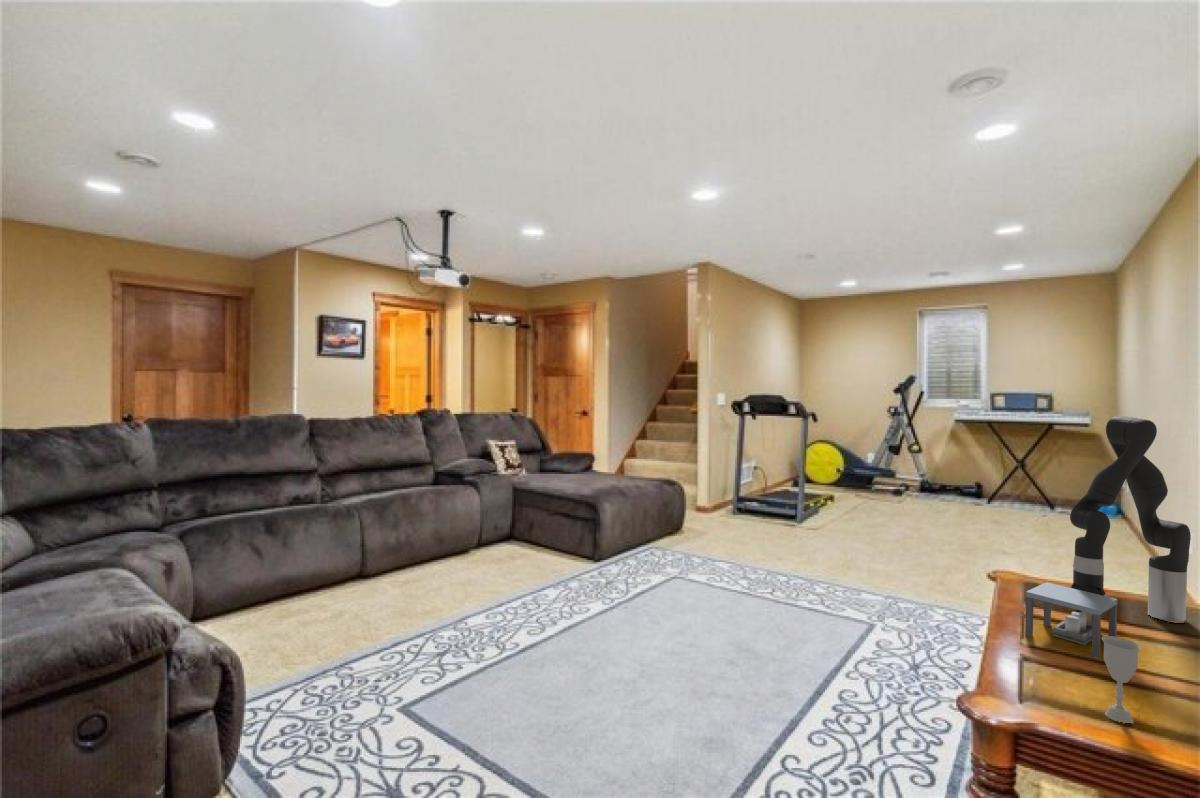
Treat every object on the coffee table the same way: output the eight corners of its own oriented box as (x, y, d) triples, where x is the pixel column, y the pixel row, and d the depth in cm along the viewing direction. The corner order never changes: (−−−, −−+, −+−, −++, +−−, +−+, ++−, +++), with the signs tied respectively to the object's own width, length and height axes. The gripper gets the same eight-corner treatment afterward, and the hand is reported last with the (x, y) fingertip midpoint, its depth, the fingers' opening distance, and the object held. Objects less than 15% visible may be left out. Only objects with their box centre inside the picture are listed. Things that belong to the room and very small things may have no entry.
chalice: (1147, 728, 131) (1149, 651, 131) (1112, 724, 133) (1114, 648, 132) (1124, 710, 139) (1126, 637, 138) (1092, 707, 140) (1094, 634, 139)
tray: (1074, 621, 190) (1074, 600, 190) (1105, 629, 184) (1105, 608, 183) (1052, 635, 180) (1053, 613, 180) (1084, 645, 173) (1085, 622, 173)
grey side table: (1045, 623, 189) (1046, 582, 189) (1116, 644, 174) (1117, 599, 174) (1025, 635, 180) (1026, 591, 180) (1098, 658, 165) (1099, 610, 165)
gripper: (1120, 574, 182) (1119, 627, 182) (1066, 562, 193) (1065, 613, 194) (1112, 578, 177) (1111, 633, 178) (1057, 566, 189) (1056, 618, 190)
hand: (1087, 622), depth 186 cm, fingers closed on tray, 3 cm apart
